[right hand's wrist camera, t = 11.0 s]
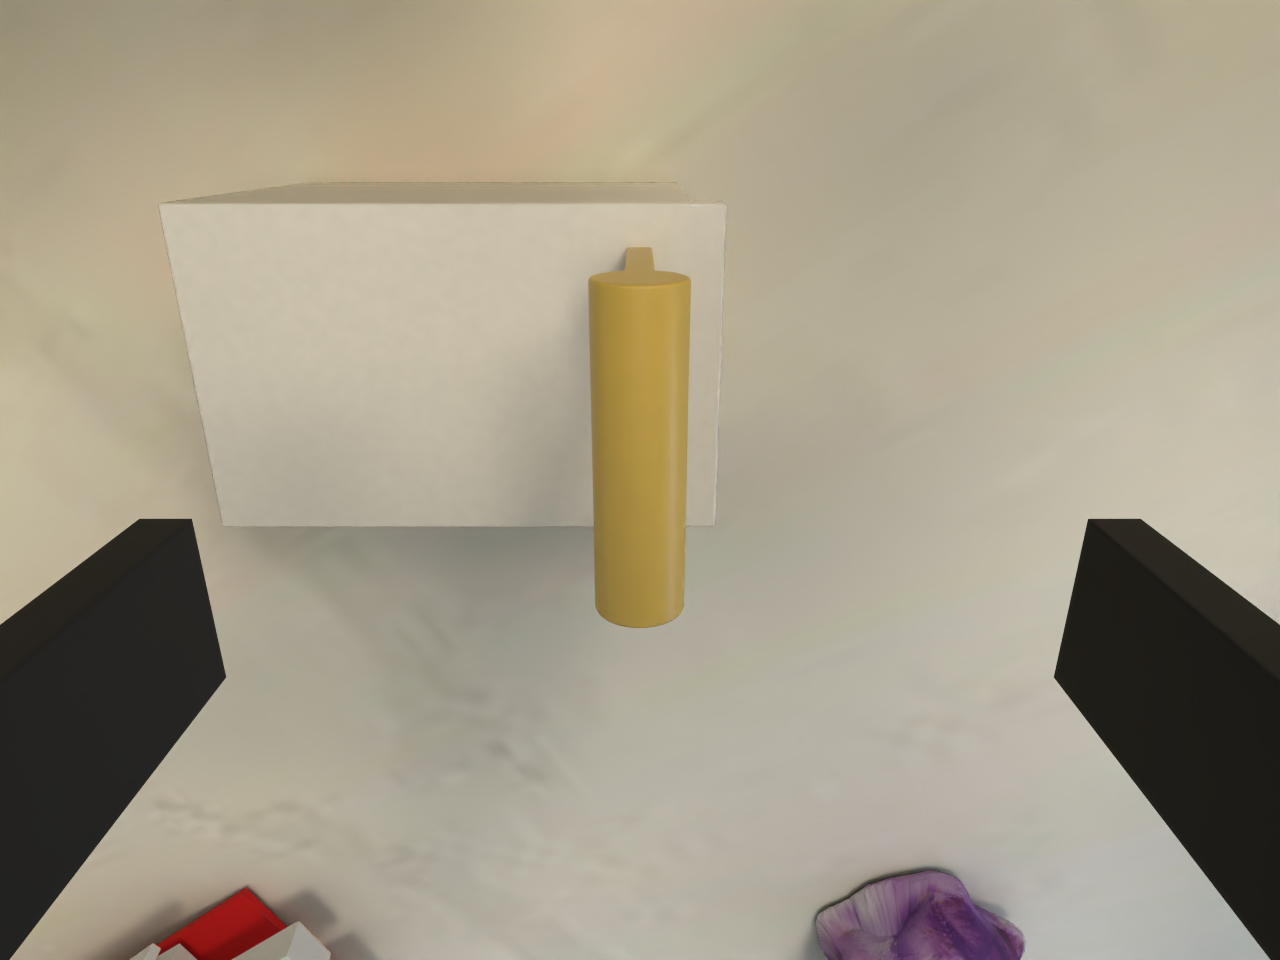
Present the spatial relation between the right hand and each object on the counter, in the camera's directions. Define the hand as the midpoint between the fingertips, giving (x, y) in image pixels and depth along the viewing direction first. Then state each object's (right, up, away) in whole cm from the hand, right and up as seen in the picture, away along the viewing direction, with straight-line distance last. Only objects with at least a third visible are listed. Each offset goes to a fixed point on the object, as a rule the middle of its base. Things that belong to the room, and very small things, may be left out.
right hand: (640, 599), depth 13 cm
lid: (-5, +5, +13) cm, 15 cm away
